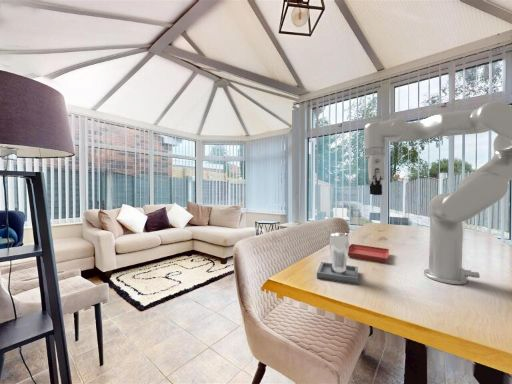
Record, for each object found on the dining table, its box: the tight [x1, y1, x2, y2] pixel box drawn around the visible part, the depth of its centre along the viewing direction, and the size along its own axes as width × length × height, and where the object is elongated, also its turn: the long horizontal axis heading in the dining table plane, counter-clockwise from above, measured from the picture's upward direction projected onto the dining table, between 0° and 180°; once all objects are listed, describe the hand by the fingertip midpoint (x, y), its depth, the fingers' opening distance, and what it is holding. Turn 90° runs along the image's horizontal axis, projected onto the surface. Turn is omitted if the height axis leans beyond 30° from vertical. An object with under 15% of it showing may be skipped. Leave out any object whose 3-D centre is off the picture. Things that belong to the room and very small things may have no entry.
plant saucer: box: [348, 243, 390, 263], centre depth 113 cm, size 18×18×3 cm
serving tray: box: [316, 261, 359, 286], centre depth 88 cm, size 14×13×2 cm
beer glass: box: [329, 232, 350, 276], centre depth 88 cm, size 7×7×15 cm
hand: (375, 194), depth 95 cm, fingers open, 9 cm apart
